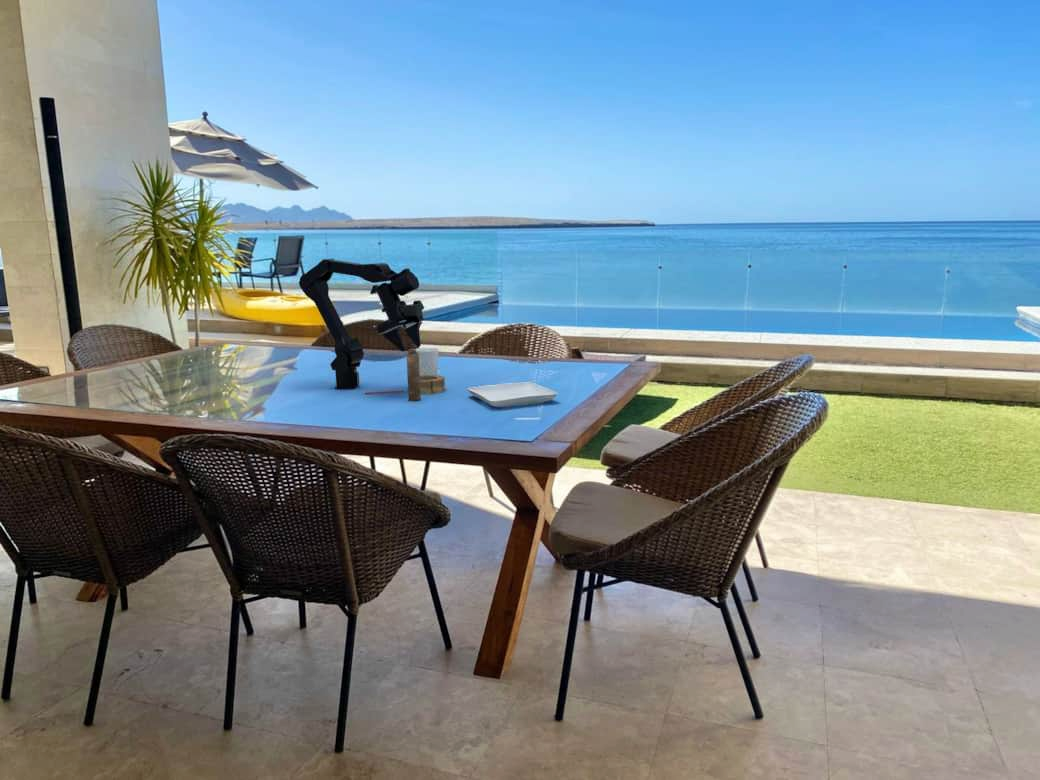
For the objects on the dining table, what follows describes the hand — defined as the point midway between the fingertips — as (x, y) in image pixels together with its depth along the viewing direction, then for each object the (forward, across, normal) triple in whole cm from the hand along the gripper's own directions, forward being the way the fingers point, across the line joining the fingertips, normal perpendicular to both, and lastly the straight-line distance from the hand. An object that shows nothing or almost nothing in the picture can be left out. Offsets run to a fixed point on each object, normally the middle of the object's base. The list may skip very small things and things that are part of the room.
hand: (411, 348), depth 237 cm
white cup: (+10, +22, +12) cm, 27 cm away
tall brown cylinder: (+15, -9, +1) cm, 17 cm away
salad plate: (+27, +1, -24) cm, 36 cm away
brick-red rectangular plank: (+9, -3, +13) cm, 16 cm away
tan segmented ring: (+14, +4, +3) cm, 15 cm away
